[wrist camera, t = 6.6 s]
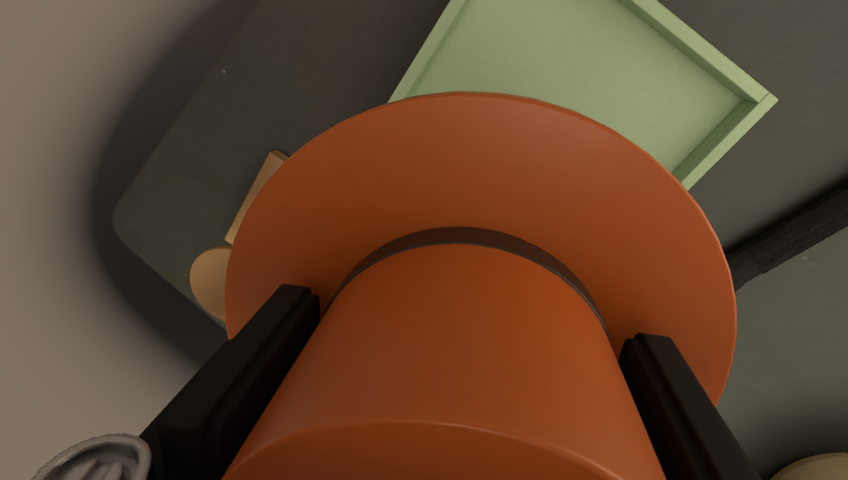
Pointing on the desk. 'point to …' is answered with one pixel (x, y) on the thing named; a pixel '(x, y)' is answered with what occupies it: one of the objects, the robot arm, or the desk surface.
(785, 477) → the decorative hat
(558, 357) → the small hat
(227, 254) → the hat stand
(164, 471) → the robot arm
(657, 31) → the tray
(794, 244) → the flashlight
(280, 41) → the desk surface
